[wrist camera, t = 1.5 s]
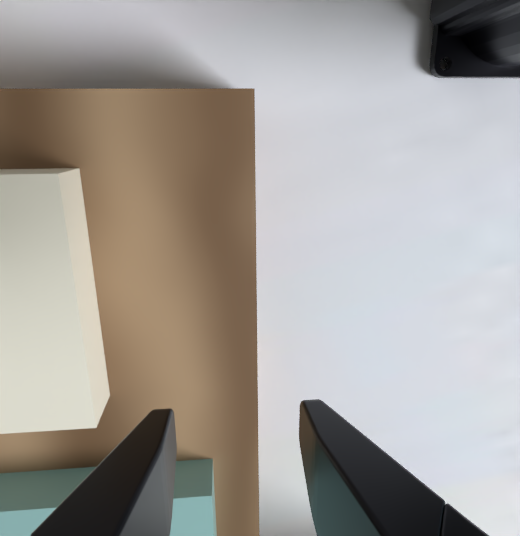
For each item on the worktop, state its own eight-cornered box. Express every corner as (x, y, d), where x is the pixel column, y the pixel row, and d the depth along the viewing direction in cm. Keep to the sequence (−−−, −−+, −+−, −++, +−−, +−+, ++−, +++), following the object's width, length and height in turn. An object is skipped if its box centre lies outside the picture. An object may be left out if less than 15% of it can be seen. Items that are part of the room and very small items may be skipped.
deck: (247, 97, 18) (254, 88, 14) (253, 503, 25) (259, 571, 21) (-106, 98, 17) (-201, 88, 13) (2, 523, 24) (-40, 598, 20)
